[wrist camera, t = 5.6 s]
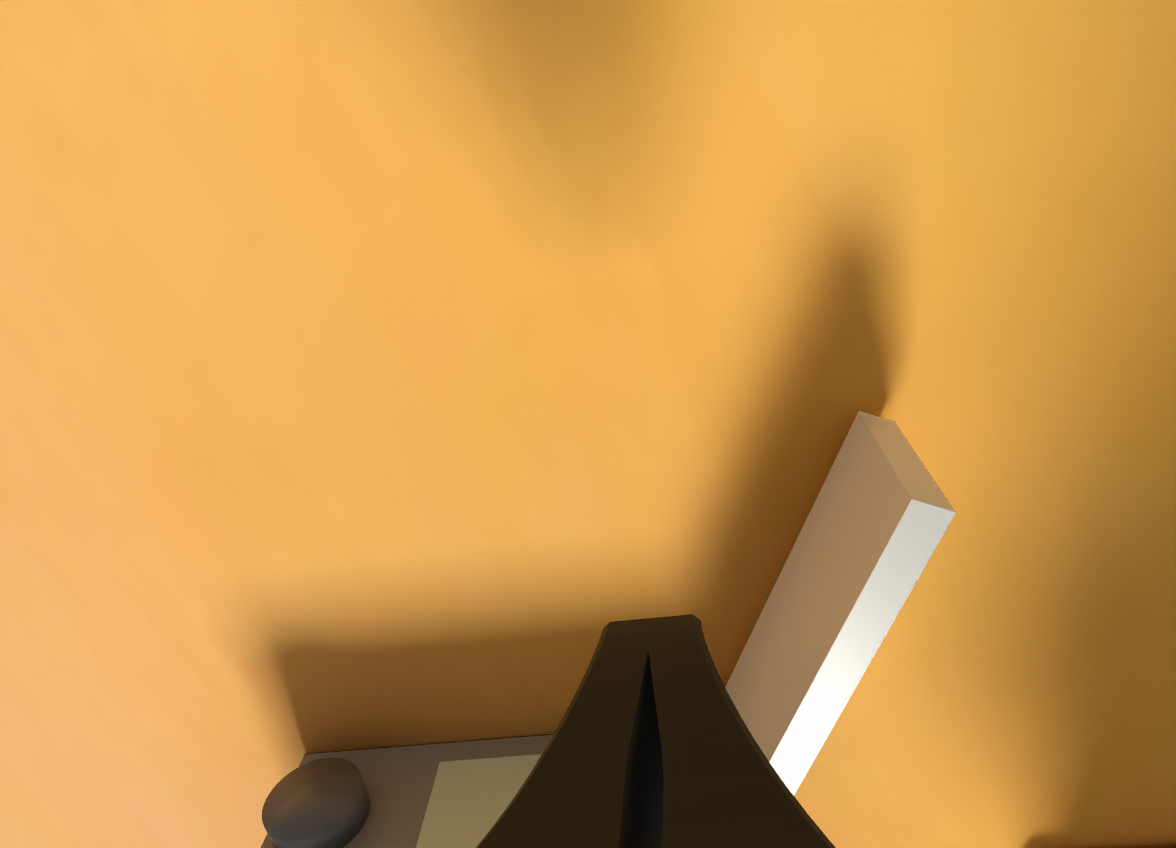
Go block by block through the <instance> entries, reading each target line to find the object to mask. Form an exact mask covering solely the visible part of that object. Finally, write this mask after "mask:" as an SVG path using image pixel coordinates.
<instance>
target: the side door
mask: <svg viewBox="0 0 1176 848" xmlns="http://www.w3.org/2000/svg"><path fill="white" fill-rule="evenodd" d="M955 513H956V512H955V510H954V509H953V507H952V506H951V504H950V503H949V501H948V500H947V498H946V497H945V495H944V494H943V492H942V491H941V489H940V488H939V486H938V485H937V483H936V482H935V481H934V479H933V478H932V476H931V475H930V473H929V472H928V470H927V469H926V467H925V466H924V464H923V463H922V461H921V460H920V458H919V457H918V455H917V454H916V452H915V451H914V449H913V448H912V446H911V445H910V443H909V442H908V440H907V439H906V437H905V436H904V434H903V433H902V432H901V430H900V429H899V427H898V426H897V424H896V423H895V421H891V420H888V419H885V418H882V417H878V416H875V415H872V414H868V413H865V412H862V411H858V414H857V416H856V418H855V420H854V422H853V424H852V426H851V428H850V430H849V432H848V434H847V436H846V438H845V440H844V443H843V445H842V447H841V449H840V451H839V453H838V455H837V457H836V459H835V461H834V463H833V465H832V467H831V469H830V471H829V474H828V476H827V478H826V480H825V482H824V484H823V486H822V488H821V490H820V492H819V494H818V496H817V498H816V500H815V502H814V505H813V507H812V509H811V511H810V513H809V515H808V517H807V519H806V521H805V523H804V525H803V527H802V529H801V531H800V534H799V536H798V538H797V540H796V542H795V544H794V546H793V548H792V550H791V552H790V554H789V556H788V558H787V560H786V562H785V565H784V567H783V569H782V571H781V573H780V575H779V577H778V579H777V581H776V583H775V585H774V587H773V589H772V591H771V594H770V596H769V598H768V600H767V602H766V604H765V606H764V608H763V610H762V612H761V614H760V616H759V618H758V620H757V622H756V625H755V627H754V629H753V631H752V633H751V635H750V637H749V639H748V641H747V643H746V645H745V647H744V649H743V651H742V653H741V656H740V658H739V660H738V662H737V664H736V666H735V668H734V670H733V672H732V674H731V676H730V678H729V680H728V682H727V685H726V686H725V688H726V690H727V692H728V694H729V696H730V698H731V699H732V701H733V703H734V705H735V707H736V709H737V710H738V712H739V714H740V716H741V718H742V719H743V721H744V723H745V724H746V726H747V728H748V729H749V731H750V733H751V734H752V736H753V738H754V739H755V741H756V742H757V744H758V745H759V747H760V748H761V750H762V752H763V753H764V755H765V756H766V758H767V759H768V761H769V762H770V764H771V765H772V767H773V768H774V770H775V771H776V772H777V774H778V775H779V777H780V778H781V779H782V781H783V782H784V784H785V785H786V786H787V788H788V789H789V790H790V792H791V793H792V794H793V796H794V794H795V793H796V791H797V789H798V787H799V786H800V784H801V782H802V781H803V779H804V777H805V775H806V774H807V772H808V770H809V768H810V767H811V765H812V763H813V761H814V760H815V758H816V756H817V754H818V753H819V751H820V749H821V747H822V746H823V744H824V742H825V740H826V739H827V737H828V735H829V733H830V732H831V730H832V728H833V726H834V725H835V723H836V721H837V719H838V718H839V716H840V714H841V712H842V711H843V709H844V707H845V705H846V704H847V702H848V700H849V698H850V697H851V695H852V693H853V691H854V690H855V688H856V686H857V684H858V683H859V681H860V679H861V677H862V676H863V674H864V672H865V670H866V669H867V667H868V665H869V663H870V662H871V660H872V658H873V656H874V655H875V653H876V651H877V649H878V648H879V646H880V644H881V643H882V641H883V639H884V637H885V636H886V634H887V632H888V630H889V629H890V627H891V625H892V623H893V622H894V620H895V618H896V616H897V615H898V613H899V611H900V609H901V608H902V606H903V604H904V602H905V601H906V599H907V597H908V595H909V594H910V592H911V590H912V588H913V587H914V585H915V583H916V581H917V580H918V578H919V576H920V574H921V573H922V571H923V569H924V567H925V566H926V564H927V562H928V560H929V559H930V557H931V555H932V553H933V552H934V550H935V548H936V546H937V545H938V543H939V541H940V539H941V538H942V536H943V534H944V532H945V531H946V529H947V527H948V525H949V524H950V522H951V520H952V518H953V517H954V515H955Z"/></svg>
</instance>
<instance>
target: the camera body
mask: <svg viewBox="0 0 1176 848" xmlns="http://www.w3.org/2000/svg"><path fill="white" fill-rule="evenodd" d="M552 737H553V735H541V736H529V737H516V738H503V739H491V740H478V741H465V742H453V743H440V744H428V745H415V746H402V747H390V748H377V749H364V750H352V751H339V752H326V753H314V754H305V755H304V757H303V760H302V762H301V764H300V766H299V767H298V768H297V769H295V770H294V771H292V772H291V773H289V774H288V775H287V776H285V777H284V778H283V779H282V780H281V781H280V782H279V783H278V784H277V785H276V786H275V787H274V788H273V790H272V791H271V792H270V794H269V795H268V797H267V799H266V801H265V803H264V806H263V810H262V821H263V824H264V827H265V829H266V831H267V833H268V834H267V836H266V838H265V840H264V842H263V844H262V846H261V848H476V847H477V846H478V844H479V843H480V842H481V841H482V839H483V838H484V837H485V836H486V835H487V833H488V832H489V831H490V829H491V828H492V827H493V825H494V824H495V823H496V821H497V820H498V819H499V817H500V816H501V815H502V813H503V812H504V811H505V809H506V808H507V807H508V805H509V804H510V802H511V801H512V799H513V798H514V797H515V795H516V794H517V792H518V791H519V789H520V788H521V786H522V785H523V783H524V782H525V780H526V779H527V777H528V776H529V774H530V773H531V771H532V770H533V768H534V766H535V765H536V763H537V761H538V760H539V758H540V756H541V755H542V753H543V751H544V750H545V748H546V746H547V745H548V743H549V742H550V740H551V738H552Z"/></svg>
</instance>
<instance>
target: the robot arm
mask: <svg viewBox="0 0 1176 848" xmlns="http://www.w3.org/2000/svg"><path fill="white" fill-rule="evenodd" d="M476 848H835V847H834V845H833V844H832V843H831V842H830V841H829V839H828V838H827V837H826V836H825V835H824V833H823V832H822V831H821V830H820V829H819V827H818V826H817V825H816V824H815V822H814V821H813V820H812V819H811V818H810V816H809V815H808V814H807V813H806V811H805V810H804V809H803V807H802V806H801V805H800V804H799V802H798V801H797V800H796V798H795V797H794V796H793V794H792V793H791V792H790V790H789V789H788V788H787V786H786V785H785V784H784V782H783V781H782V779H781V778H780V777H779V775H778V774H777V772H776V771H775V770H774V768H773V767H772V765H771V764H770V762H769V761H768V759H767V758H766V756H765V755H764V753H763V752H762V750H761V748H760V747H759V745H758V744H757V742H756V741H755V739H754V738H753V736H752V734H751V733H750V731H749V729H748V728H747V726H746V724H745V723H744V721H743V719H742V718H741V716H740V714H739V712H738V710H737V709H736V707H735V705H734V703H733V701H732V699H731V698H730V696H729V694H728V692H727V690H726V688H725V686H724V684H723V682H722V680H721V678H720V676H719V674H718V672H717V670H716V667H715V665H714V663H713V661H712V658H711V656H710V653H709V651H708V648H707V645H706V642H705V639H704V635H703V632H702V628H701V621H700V620H699V619H698V618H696V617H695V616H694V615H682V616H671V617H660V618H649V619H638V620H627V621H616V622H610V623H609V624H608V625H607V626H606V627H605V628H604V629H603V632H602V635H601V638H600V640H599V643H598V645H597V648H596V650H595V653H594V655H593V658H592V660H591V662H590V665H589V667H588V669H587V671H586V673H585V675H584V678H583V680H582V682H581V684H580V686H579V688H578V690H577V692H576V694H575V696H574V698H573V700H572V702H571V703H570V705H569V707H568V709H567V711H566V713H565V715H564V717H563V719H562V721H561V723H560V724H559V726H558V728H557V730H556V732H555V733H554V735H553V737H552V738H551V740H550V742H549V743H548V745H547V746H546V748H545V750H544V751H543V753H542V755H541V756H540V758H539V760H538V761H537V763H536V765H535V766H534V768H533V770H532V771H531V773H530V774H529V776H528V777H527V779H526V780H525V782H524V783H523V785H522V786H521V788H520V789H519V791H518V792H517V794H516V795H515V797H514V798H513V799H512V801H511V802H510V804H509V805H508V807H507V808H506V809H505V811H504V812H503V813H502V815H501V816H500V817H499V819H498V820H497V821H496V823H495V824H494V825H493V827H492V828H491V829H490V831H489V832H488V833H487V835H486V836H485V837H484V838H483V839H482V841H481V842H480V843H479V844H478V846H477V847H476Z"/></svg>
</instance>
